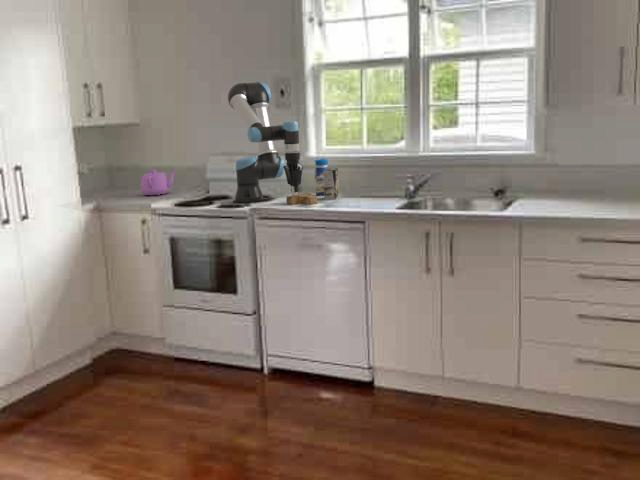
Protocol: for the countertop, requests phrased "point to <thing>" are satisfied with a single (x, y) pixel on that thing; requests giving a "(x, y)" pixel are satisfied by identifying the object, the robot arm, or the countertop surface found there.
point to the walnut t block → (302, 199)
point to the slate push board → (319, 203)
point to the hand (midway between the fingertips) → (295, 198)
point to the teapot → (156, 183)
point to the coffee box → (331, 184)
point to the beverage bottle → (320, 175)
